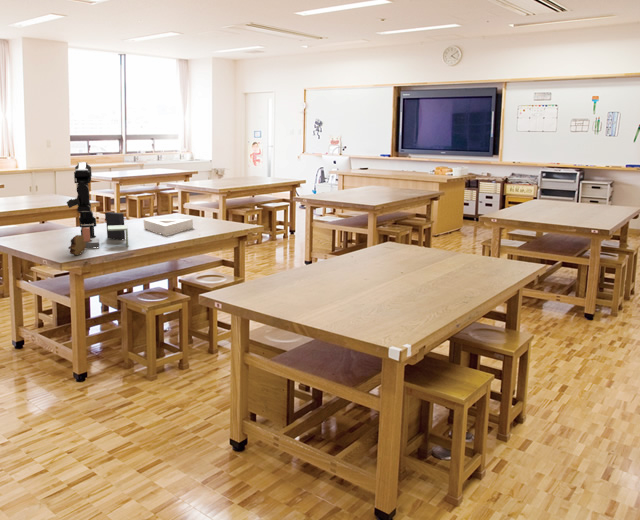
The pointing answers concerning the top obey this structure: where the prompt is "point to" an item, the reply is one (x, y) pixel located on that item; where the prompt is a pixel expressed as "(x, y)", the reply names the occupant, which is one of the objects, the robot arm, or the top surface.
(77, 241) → the wooden carving
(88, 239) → the peg
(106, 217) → the black flat block
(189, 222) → the white slab
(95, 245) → the socket block
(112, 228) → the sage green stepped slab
